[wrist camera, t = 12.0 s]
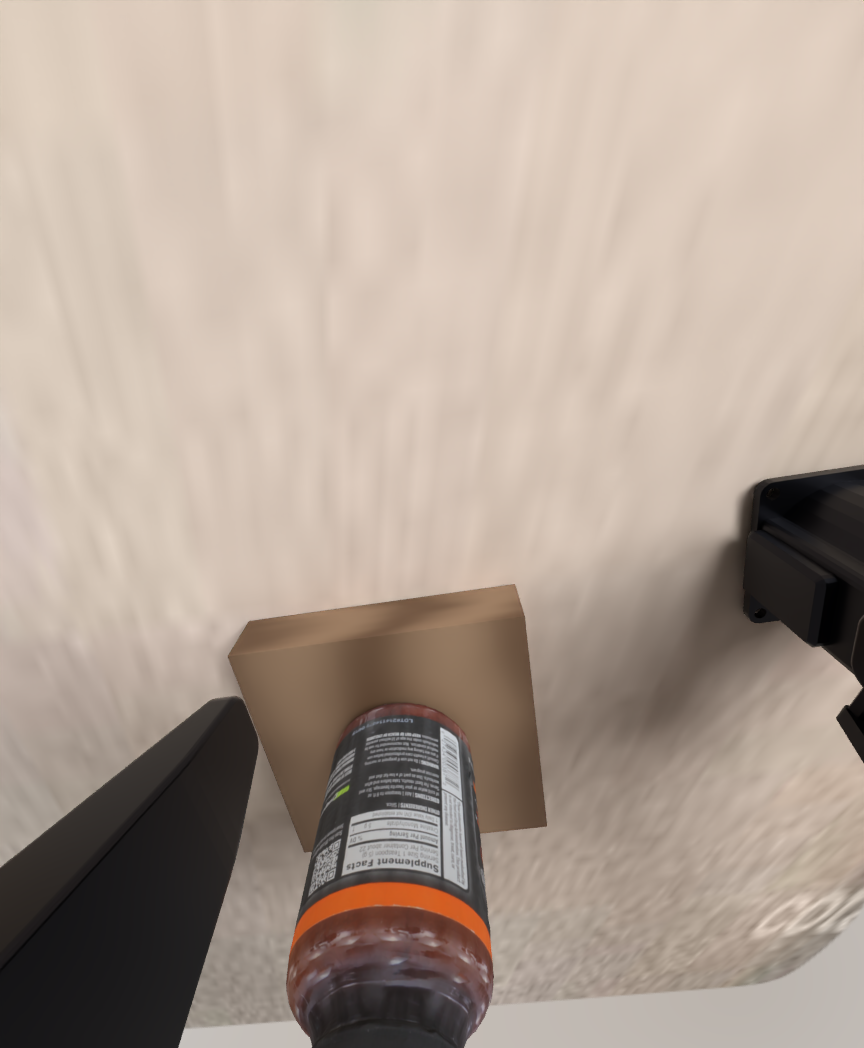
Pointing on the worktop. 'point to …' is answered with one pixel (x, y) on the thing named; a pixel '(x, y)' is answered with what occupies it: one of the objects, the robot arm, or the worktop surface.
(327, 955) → the supplement bottle
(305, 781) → the walnut plinth
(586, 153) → the worktop surface
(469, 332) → the worktop surface
